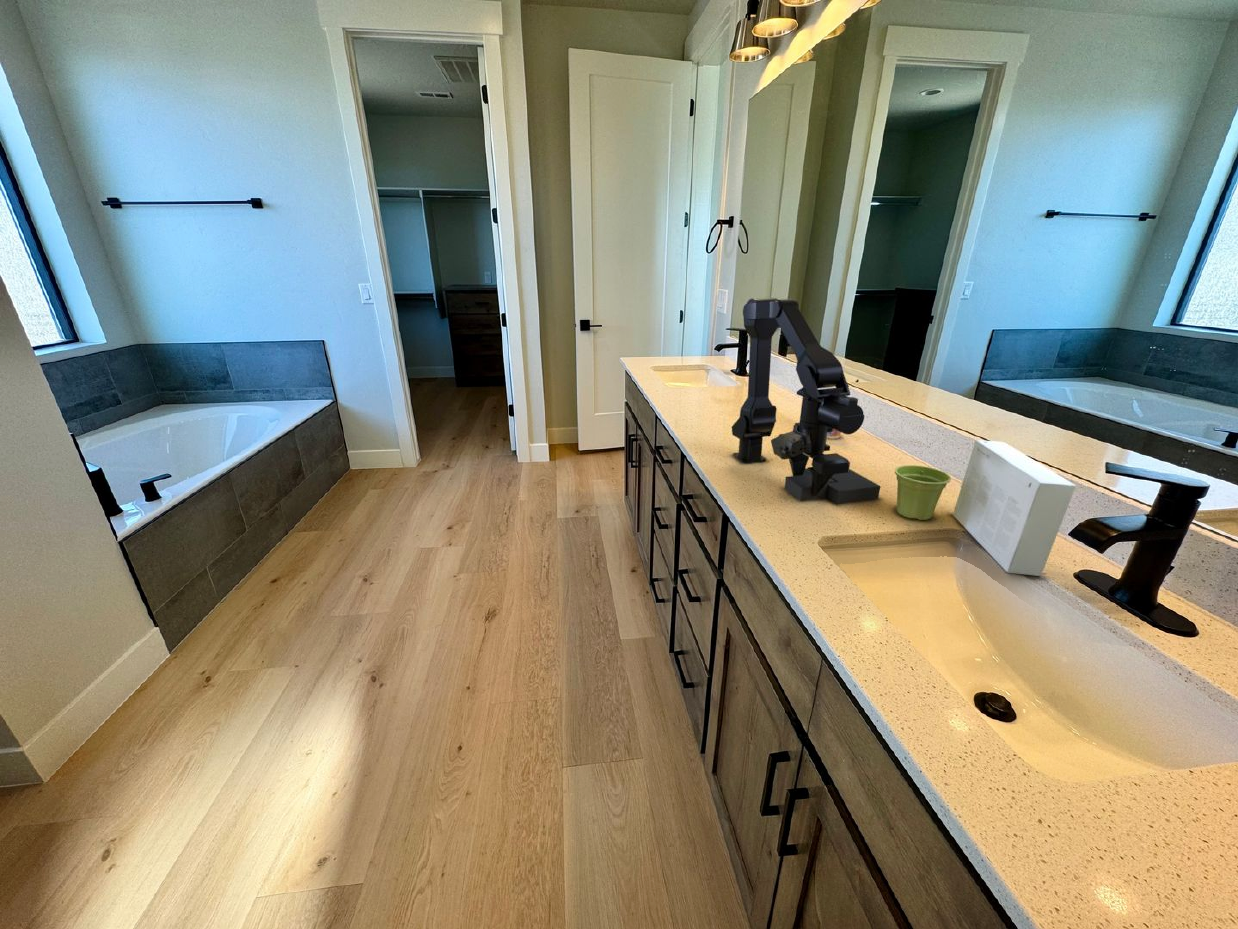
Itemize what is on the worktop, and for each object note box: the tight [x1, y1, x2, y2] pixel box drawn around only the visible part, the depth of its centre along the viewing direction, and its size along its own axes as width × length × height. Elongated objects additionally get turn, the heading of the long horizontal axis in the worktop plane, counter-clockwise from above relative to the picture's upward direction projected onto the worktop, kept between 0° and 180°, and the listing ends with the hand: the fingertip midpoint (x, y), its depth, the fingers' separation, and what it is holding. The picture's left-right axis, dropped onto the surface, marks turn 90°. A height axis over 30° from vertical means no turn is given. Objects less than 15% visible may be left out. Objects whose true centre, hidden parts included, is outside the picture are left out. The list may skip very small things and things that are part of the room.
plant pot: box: [894, 464, 952, 521], centre depth 96 cm, size 9×9×9 cm
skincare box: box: [952, 439, 1077, 577], centre depth 84 cm, size 21×6×16 cm, turn 168°
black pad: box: [784, 474, 835, 502], centre depth 107 cm, size 6×9×3 cm
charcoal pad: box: [803, 467, 881, 505], centre depth 109 cm, size 13×10×3 cm
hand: (805, 489), depth 107 cm, fingers closed on black pad, 6 cm apart
